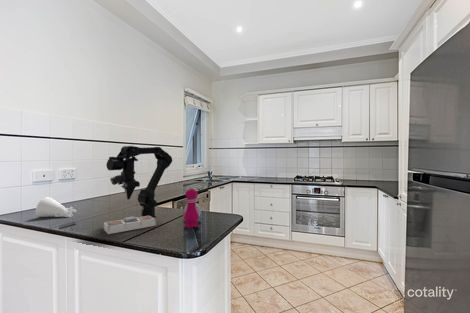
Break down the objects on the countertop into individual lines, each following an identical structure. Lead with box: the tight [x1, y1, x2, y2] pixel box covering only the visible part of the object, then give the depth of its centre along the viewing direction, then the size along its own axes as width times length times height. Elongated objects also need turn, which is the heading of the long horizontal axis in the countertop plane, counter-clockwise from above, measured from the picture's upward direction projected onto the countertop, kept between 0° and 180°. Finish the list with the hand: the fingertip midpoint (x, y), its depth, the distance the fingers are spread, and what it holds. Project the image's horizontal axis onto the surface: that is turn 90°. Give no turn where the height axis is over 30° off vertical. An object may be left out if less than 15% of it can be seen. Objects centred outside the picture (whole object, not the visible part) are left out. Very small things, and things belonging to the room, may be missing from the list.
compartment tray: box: [103, 216, 157, 235], centre depth 116 cm, size 21×9×3 cm, turn 129°
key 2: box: [139, 217, 151, 221], centre depth 121 cm, size 5×5×2 cm
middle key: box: [123, 216, 137, 223], centre depth 116 cm, size 5×5×2 cm
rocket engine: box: [35, 196, 78, 218], centre depth 139 cm, size 12×12×18 cm
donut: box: [183, 202, 202, 217], centre depth 130 cm, size 10×4×10 cm, turn 68°
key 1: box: [108, 220, 121, 226], centre depth 112 cm, size 5×5×2 cm
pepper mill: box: [183, 185, 200, 229], centre depth 118 cm, size 7×7×20 cm
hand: (128, 199), depth 126 cm, fingers closed
